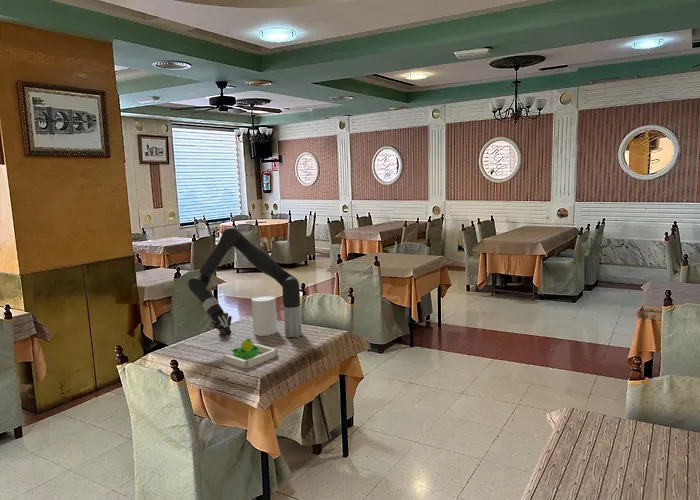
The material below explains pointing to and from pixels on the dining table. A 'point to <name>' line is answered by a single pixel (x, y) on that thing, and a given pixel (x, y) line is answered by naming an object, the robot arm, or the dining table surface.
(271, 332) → the canister
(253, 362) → the corral
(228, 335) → the condiment
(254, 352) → the fruit basket
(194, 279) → the robot arm
